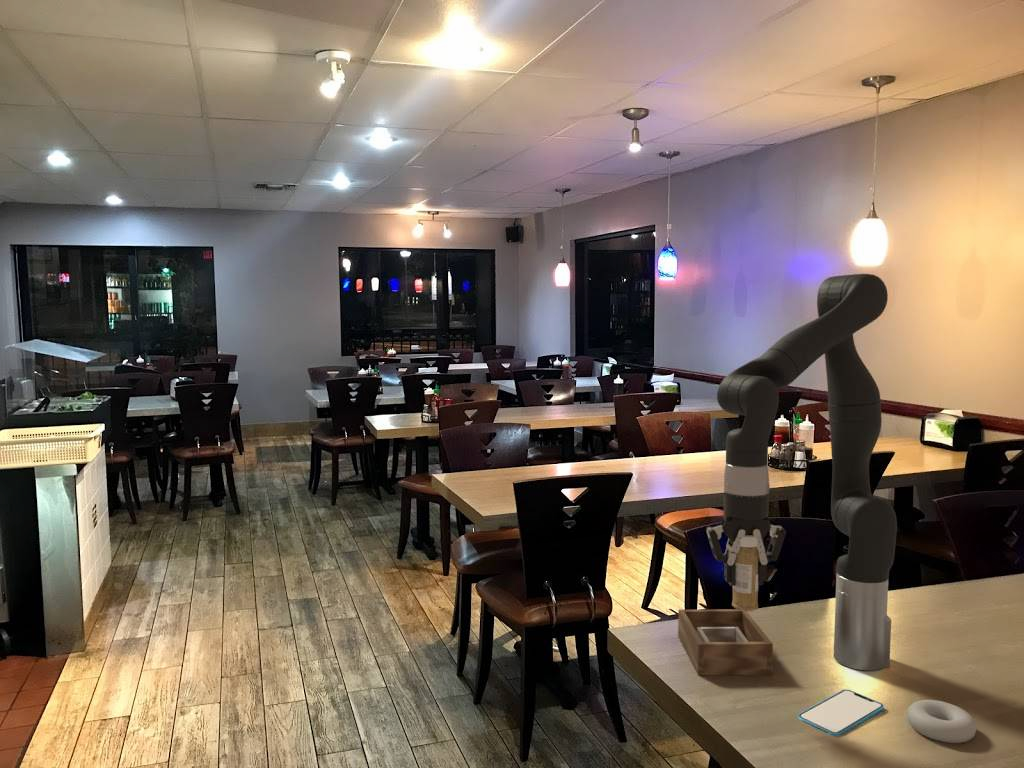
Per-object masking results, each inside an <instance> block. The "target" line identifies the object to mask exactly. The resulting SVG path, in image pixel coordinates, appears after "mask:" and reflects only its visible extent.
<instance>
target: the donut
mask: <svg viewBox="0 0 1024 768" xmlns="http://www.w3.org/2000/svg"><path fill="white" fill-rule="evenodd" d="M906 717H907V721H908V723H909V725H910V726H911V727H912V728H913V729H914V730H915V731H916V732H917V733H919V734H920V733H921V735H922V736H924V735H925V736H924V737H926V736H927V737H926V738H928V737H929V739H931V738H932V739H931V740H934V739H936V740H935V741H937V740H939V741H938V742H940V741H942V742H941V743H946V742H948V743H947V744H962V742H963V743H966V742H969V741H970V740H972V739H973V738H974V737H975V735H976V731H977V725H976V722H975V720H974V718H973V717H972V716H971V715H970V714H969V713H968V712H967V711H965V710H964V709H962V708H961V707H959V706H958V705H957V706H956V705H954V704H951V703H950V702H949V703H948V702H945V701H941V700H936V699H922V700H917V701H915V702H913V703H911V704H910V705H909V707H908V709H907V711H906Z"/></svg>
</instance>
